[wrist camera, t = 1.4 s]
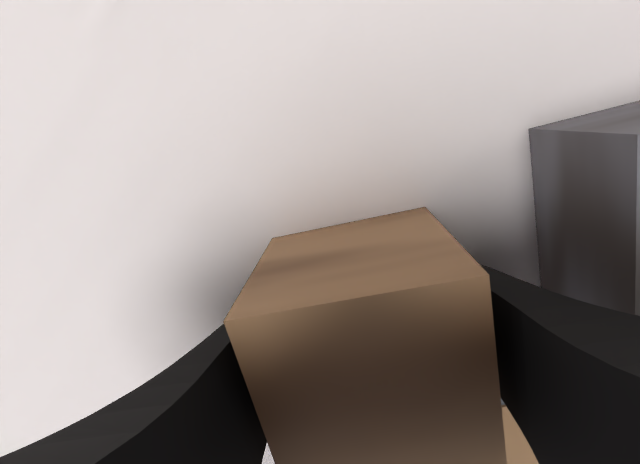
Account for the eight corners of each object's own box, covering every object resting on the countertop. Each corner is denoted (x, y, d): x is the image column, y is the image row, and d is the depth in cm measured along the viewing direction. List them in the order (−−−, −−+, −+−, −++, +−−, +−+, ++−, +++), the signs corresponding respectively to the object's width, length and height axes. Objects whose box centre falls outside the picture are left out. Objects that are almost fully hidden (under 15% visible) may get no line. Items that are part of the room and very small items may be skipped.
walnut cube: (443, 339, 12) (508, 478, 7) (308, 360, 13) (288, 501, 8) (424, 206, 11) (488, 274, 6) (272, 237, 11) (223, 321, 7)
